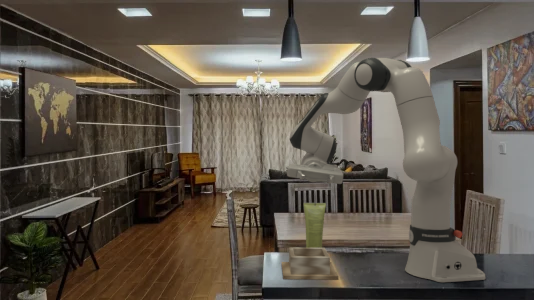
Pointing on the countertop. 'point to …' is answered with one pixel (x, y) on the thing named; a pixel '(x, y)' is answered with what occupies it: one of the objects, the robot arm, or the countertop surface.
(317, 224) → the tube
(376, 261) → the countertop surface
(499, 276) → the countertop surface
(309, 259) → the socket stand
